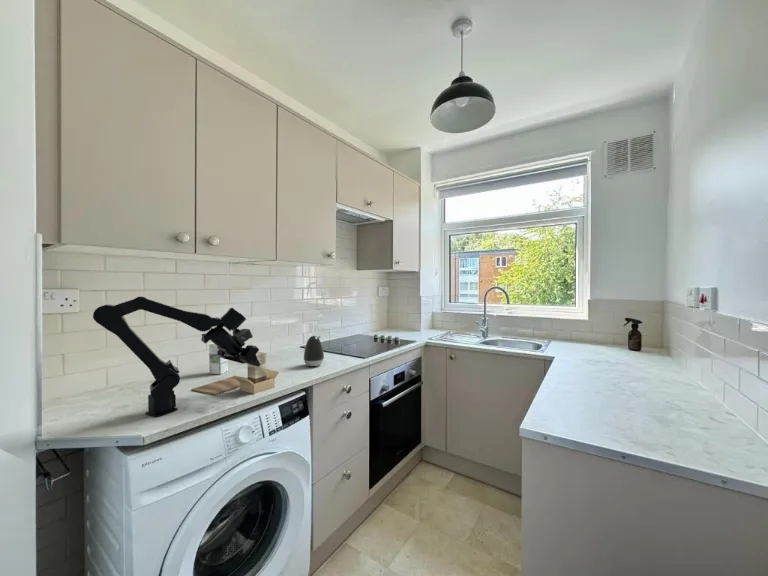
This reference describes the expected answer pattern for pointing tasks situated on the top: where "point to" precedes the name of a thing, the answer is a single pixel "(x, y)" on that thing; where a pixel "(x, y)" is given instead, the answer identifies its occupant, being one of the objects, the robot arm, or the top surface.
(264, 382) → the carton
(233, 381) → the walnut board
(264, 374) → the tall box
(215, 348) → the syrup box
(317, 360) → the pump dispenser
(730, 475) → the top surface
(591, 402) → the top surface
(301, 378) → the top surface
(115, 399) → the top surface
